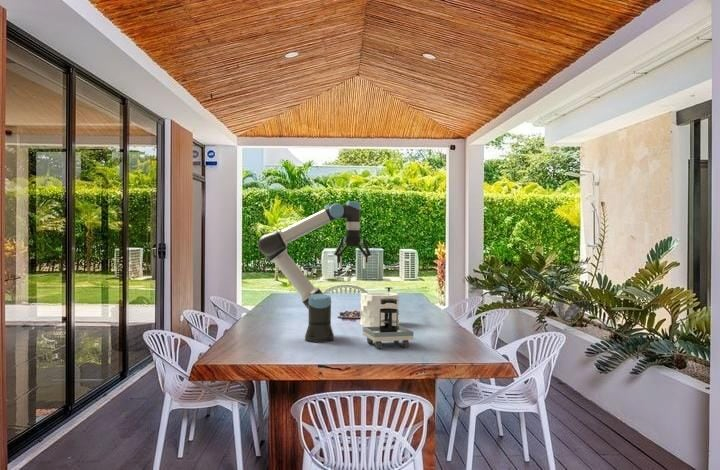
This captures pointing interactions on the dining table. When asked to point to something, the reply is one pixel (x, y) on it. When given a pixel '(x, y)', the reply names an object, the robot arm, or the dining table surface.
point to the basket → (376, 308)
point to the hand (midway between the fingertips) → (352, 268)
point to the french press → (388, 315)
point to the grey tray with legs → (387, 335)
